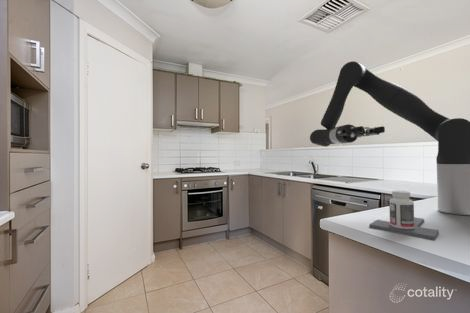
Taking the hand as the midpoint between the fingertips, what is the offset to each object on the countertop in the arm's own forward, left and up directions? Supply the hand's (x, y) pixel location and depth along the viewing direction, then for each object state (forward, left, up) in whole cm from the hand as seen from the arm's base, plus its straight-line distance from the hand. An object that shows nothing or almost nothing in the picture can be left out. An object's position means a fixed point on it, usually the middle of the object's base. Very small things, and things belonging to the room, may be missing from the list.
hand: (373, 129), depth 78 cm
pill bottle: (+14, +10, -29) cm, 34 cm away
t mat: (+7, +10, -30) cm, 33 cm away
